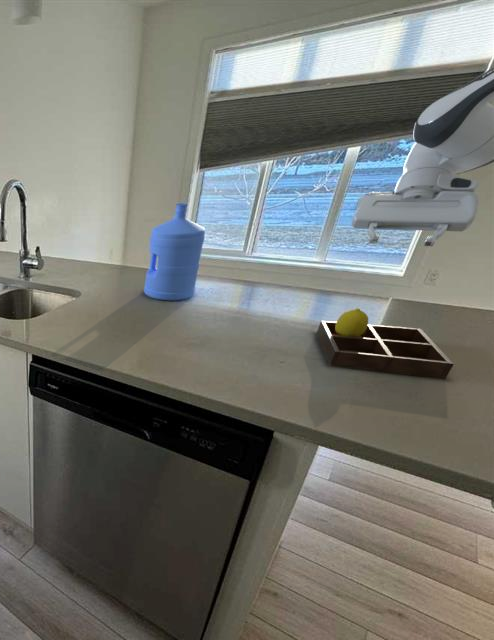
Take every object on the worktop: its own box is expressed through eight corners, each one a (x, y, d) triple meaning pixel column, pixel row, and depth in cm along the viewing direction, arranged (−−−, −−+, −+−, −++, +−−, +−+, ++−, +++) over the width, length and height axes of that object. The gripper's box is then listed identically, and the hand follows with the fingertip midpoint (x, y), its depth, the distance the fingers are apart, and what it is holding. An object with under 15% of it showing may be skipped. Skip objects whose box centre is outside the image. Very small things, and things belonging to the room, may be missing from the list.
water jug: (200, 290, 136) (217, 200, 122) (184, 304, 127) (201, 208, 113) (154, 284, 146) (165, 200, 132) (136, 297, 136) (146, 207, 122)
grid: (413, 342, 94) (420, 328, 92) (445, 379, 80) (454, 363, 79) (316, 333, 102) (320, 320, 100) (329, 365, 88) (335, 351, 87)
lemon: (341, 334, 99) (353, 303, 95) (366, 342, 95) (380, 310, 91) (324, 338, 98) (336, 307, 94) (349, 347, 93) (362, 314, 89)
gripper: (363, 183, 99) (344, 233, 98) (489, 181, 86) (469, 237, 85) (358, 200, 104) (340, 248, 103) (477, 200, 91) (457, 254, 90)
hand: (400, 243), depth 94 cm, fingers open, 8 cm apart
